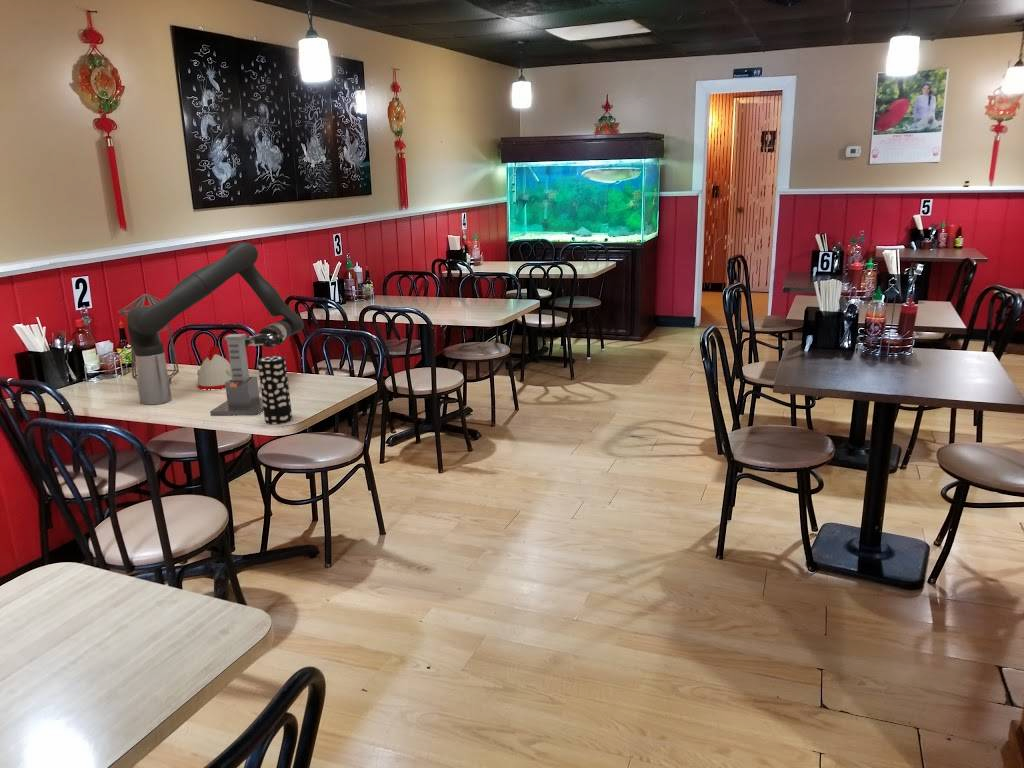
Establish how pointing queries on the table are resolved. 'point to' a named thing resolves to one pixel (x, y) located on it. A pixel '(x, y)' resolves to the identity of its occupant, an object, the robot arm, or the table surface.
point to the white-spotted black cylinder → (274, 389)
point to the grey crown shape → (214, 371)
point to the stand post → (238, 357)
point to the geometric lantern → (150, 299)
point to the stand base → (240, 399)
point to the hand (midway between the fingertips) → (254, 344)
